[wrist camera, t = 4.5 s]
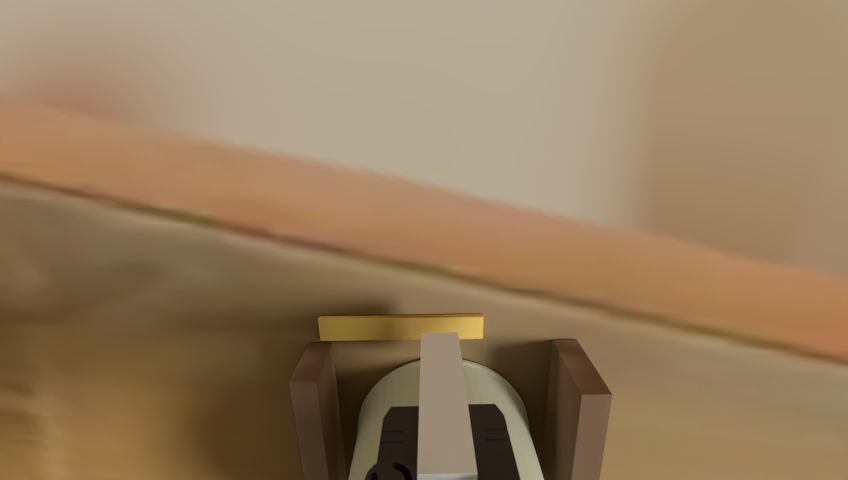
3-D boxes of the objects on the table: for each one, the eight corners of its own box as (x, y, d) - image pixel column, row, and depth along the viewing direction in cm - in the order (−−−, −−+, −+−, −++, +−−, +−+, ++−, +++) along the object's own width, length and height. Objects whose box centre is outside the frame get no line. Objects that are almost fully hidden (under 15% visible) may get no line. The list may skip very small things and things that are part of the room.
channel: (331, 517, 23) (312, 595, 20) (305, 316, 19) (274, 366, 15) (556, 516, 23) (581, 595, 19) (579, 312, 19) (616, 362, 15)
